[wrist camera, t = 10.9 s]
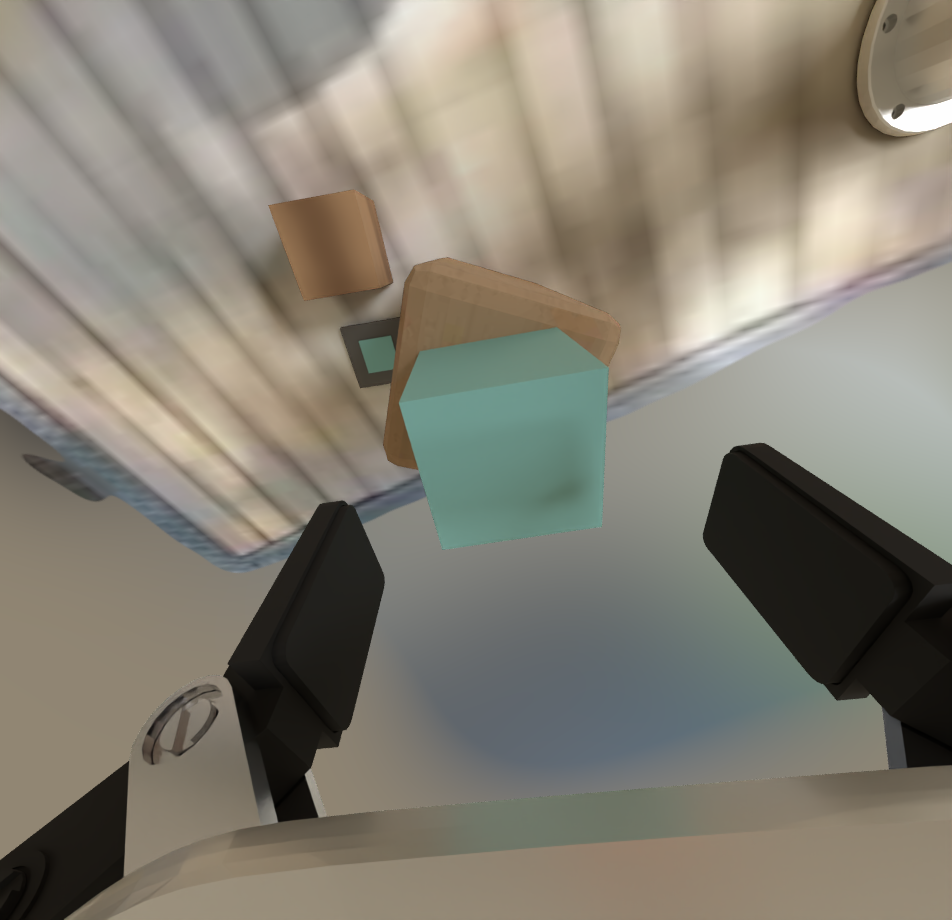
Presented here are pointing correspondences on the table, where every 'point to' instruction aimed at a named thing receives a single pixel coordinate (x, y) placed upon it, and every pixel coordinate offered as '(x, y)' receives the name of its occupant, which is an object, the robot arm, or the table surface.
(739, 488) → the robot arm
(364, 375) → the card
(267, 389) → the table surface
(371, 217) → the walnut cube
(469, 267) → the wooden block
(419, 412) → the teal cube
